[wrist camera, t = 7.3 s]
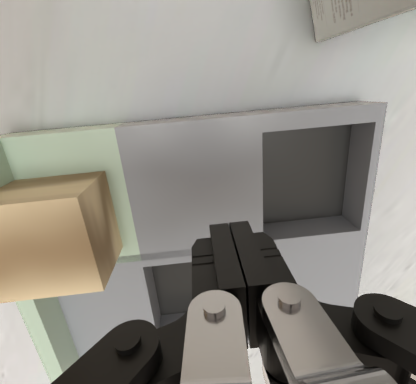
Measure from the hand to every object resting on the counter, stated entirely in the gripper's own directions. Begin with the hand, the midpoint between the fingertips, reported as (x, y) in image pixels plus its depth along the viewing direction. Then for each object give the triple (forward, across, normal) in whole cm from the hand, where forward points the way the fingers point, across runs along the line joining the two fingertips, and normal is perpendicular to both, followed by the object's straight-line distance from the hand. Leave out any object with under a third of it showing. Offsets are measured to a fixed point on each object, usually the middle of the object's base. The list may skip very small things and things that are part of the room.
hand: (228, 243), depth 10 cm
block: (+6, +9, +1) cm, 10 cm away
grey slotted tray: (+8, +1, +4) cm, 9 cm away
